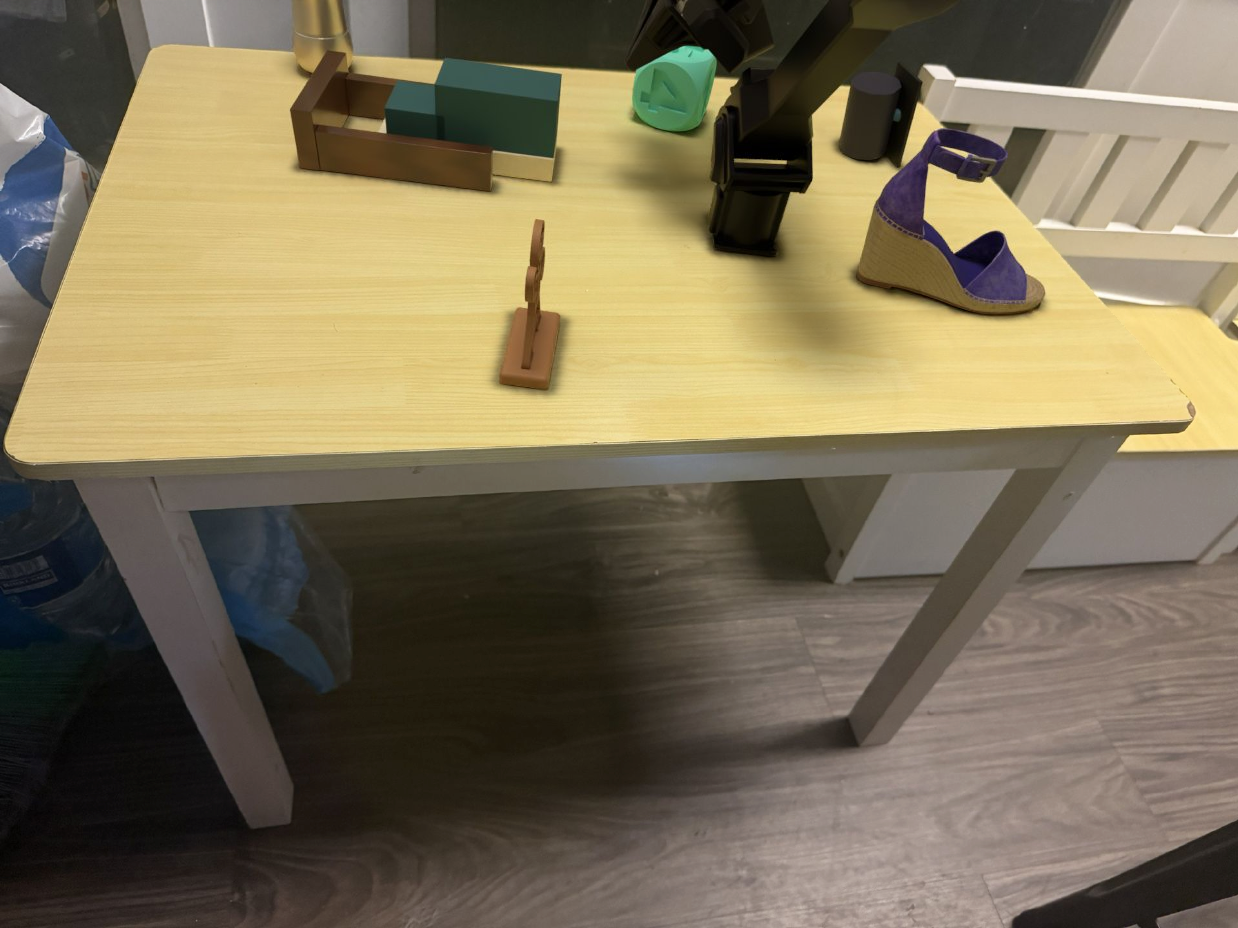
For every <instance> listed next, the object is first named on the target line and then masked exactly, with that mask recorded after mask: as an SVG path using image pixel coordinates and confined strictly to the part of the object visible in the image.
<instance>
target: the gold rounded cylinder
mask: <svg viewBox="0 0 1238 928" xmlns="http://www.w3.org/2000/svg"><path fill="white" fill-rule="evenodd" d="M290 1H291V17H292V27H291V48H292V51H293V54H294V56H295V61H296V62H297V63H298V64H299V66H300V67H301V68H302V69H303V70H305V71H306V72H308V73H311V74H313V72H314V70H315V69H316V67H317V66H318V64H319V62H320V61H321V59H322V58H323V56H324V55H325V53H326V51H327V50H330V51H337V52H344V53H346V55H347V64H348V69H349V68H350V67H351V65H352V63H353V58H354V44H353V40H352V35H351V32H350V28H349V26H348V22H347V16H346V10H345V5H344V0H290Z"/></svg>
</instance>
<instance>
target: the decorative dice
mask: <svg viewBox="0 0 1238 928" xmlns="http://www.w3.org/2000/svg"><path fill="white" fill-rule="evenodd" d="M717 62H718V60H717V59H716V58H715V57H714V56H713V54H712V53H711V52H710V51H709V50H703V49H702V48H701V47H694V46H683V47H680V48H678V49H676V50H674V51H671V52H669V53H667V54H665V55H663V56H662V57H660V58H658V59H656V60H654V61H652V62H650V63H648V64H647V65H645V66H643V67H641V68H639V69H637V70H635V75H634V80H633V86H632V94H631V95H632V96H631V99H632V100H631V103H632V107H633V109H634V111H635V113H636V114H637V116H638V117H639V118H640V120H641V121H643V122H644V123H645V124H647V125H648V126H651V127H653V128H656V129H658V130H662V131H669V132H687V131H691V130H693V129H695V128H697V127H698V126H700V124H701V123H702V121H703V118H704V116H705V113H706V110H707V107H708V105H709V101H710V97H711V94H712V90H713V85H714V81H715V76H716V71H717Z"/></svg>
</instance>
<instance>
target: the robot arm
mask: <svg viewBox="0 0 1238 928" xmlns="http://www.w3.org/2000/svg"><path fill="white" fill-rule="evenodd" d="M961 1H962V0H828V1H827V2H826V4H825V5H824V6H823V8H822V9H821V10H820V11H819V13H818V14H816V16H815V18H814V19H813V20H812V22H811V23H810V24H809V25H808V27H807V28H806V29H805V30H804V32H803V33H802V34H801V36H800V37H799V38H798V39H797V40H796V42H795V43H794V45H792V47H791V48H790V50H789V51H788V52H787V53H786V55H785V56H784V57H783V59H781V61H780V62H779V64H778V65H777V67H775V68H770V67H754V66H753V67H752V66H748V68H745V69H744V70H743V71H742V72H741V74H740V76H739V78H738V80H737V82H736V83H734V85H733V86H730V87H729V92H730V94H729V95H728V97H727V98H726V99H725V102H724V103H723V105H721V106H720V108H719V109H718V112H717V115H716V116H715V120H714V122H713V127H712V128H713V129H712V130H713V133H712V134H713V135H712V145H711V147H712V148H711V157H710V162H711V165H710V166H711V169H710V173H709V180H710V182H711V183H714V184H715V186H714V189H713V193H712V196H711V197H712V198H711V202H710V207H709V211H708V215H707V228H708V232H709V234H710V235H711V240H712V247H713V248H714V249H715V250H719V251H726V252H727V251H728V252H735V253H743V254H751V255H752V254H753V255H759V256H760V255H761V256H768V257H776V256H777V254H778V251H779V250H778V245H777V237H778V235H779V231H780V228H781V225H782V222H783V218H784V216H785V212H786V209H787V206H788V203H789V199H790V196H791V193H794V194H795V193H798V194H800V195H802V194H803V195H805V194H806V193H807V191H808V189H809V187H810V186H811V184H812V182H813V179H814V169H813V168H814V166H813V138H814V126H813V115H814V114H815V113H816V112H817V111H818V110H819V109H820V108H821V107H822V106H823V104H825V103H826V102H827V100H829V98H830V97H832V95H833V94H834V93H835V92H836V91H837V90H838V89H839V88H840V87H841V86H842V85H843V84H844V83H845V82H846V81H847V80H848V79H849V78H850V77H851V76H852V75H853V73H854V72H855V71H856V70H858V68H860V66H861V65H863V63H864V62H866V60H867V59H868V58H869V57H870V56H872V54H873V53H874V52H875V51H876V50H877V49H878V48H879V47H880V46H881V45H882V44H883V43H884V42H885V41H886V40H887V39H888V38H889V37H890V36H891V35H892V33H893V32H894V31H896V30H898V29H899V28H902V27H905V26H909V25H912V24H915V23H917V22H922V21H924V20H927V19H930V18H933V17H937V16H940V15H941V14H943V13H945V12H946V11H947V10H949V9H951V8H952V7H954V6H955V5H957V4H958V3H959V2H961ZM683 46H694V47H701V48H702V49H703V50H709V51H710V52H711V53H712V54H713V56H714V57H715V58H716V60H717V62H718V63H719V64H720V65H721V66H722V67H723V68H724V69H725V71H726V72H727V73H728V74H729V75H732V74H733V73H734V72H735V71H736V70H738V69H739V68H740V67H741V66H742V64H743V63H746V62H748V61H749V60H752V59H753V58H756V57H757V56H760V55H761V54H763V53H766V52H767V51H769V50H771V49H774V48H775V42H774V38H773V34H772V30H771V27H770V22H769V19H768V15H767V10H766V5H765V4H764V2H763V0H645V3H644V6H643V9H642V11H641V14H640V18H639V20H638V23H637V25H636V28H635V31H634V33H633V37H632V39H631V42H630V45H629V48H628V50H627V53H626V55H625V57H624V63H625V65H626V67H627V68H628V69H629V70H630V71H631V72H636V70H637V69H639V68H641V67H643V66H645V65H647V64H648V63H650V62H652V61H654V60H656V59H658V58H660V57H662V56H663V55H665V54H667V53H669V52H671V51H674V50H676V49H678V48H680V47H683ZM735 160H759V161H780V162H781V161H784V162H785V161H786V163H773V162H771V163H770V162H769V163H768V162H746V161H745V162H742V161H741V162H740V161H735Z"/></svg>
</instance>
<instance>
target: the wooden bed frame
mask: <svg viewBox="0 0 1238 928" xmlns="http://www.w3.org/2000/svg"><path fill="white" fill-rule="evenodd" d="M397 81H404V82H412V83H419V84H426V85H434V84H435V83H429V82H422V81H414V80H409V79H408V80H407V79H399V78H394V77H393V78H392V77H386V76H385V77H384V76H378V75H371V74H365V73H355V72H349V68H348V64H347V55H346V53H344V52H337V51H330V50H327V51H326V53H325V55H324V56H323V58H322V59H321V61H320V62H319V64H318V66H317V67H316V69H315V70H314V72H313V73H311V74H310V76H309V79H308V80H307V81H306V83H305V85H304V86H303V88H302V89H301V91H299V94H298V96H297V97H296V98H295V100H294V102H293V103H292V105H291V106H290V108H289V112H290V113H289V114H290V120H291V125H292V131H293V136H294V142H295V148H296V154H297V160H298V165H299V169H306V170H313V171H326V172H333V173H342V174H350V175H358V176H366V177H372V178H373V177H374V178H381V179H382V178H383V179H389V180H398V181H406V182H414V183H421V184H430V185H437V186H445V187H453V188H460V189H469V190H476V191H477V190H478V191H486V192H491V191H492V186H493V175H494V174H493V147H488V146H480V145H472V144H465V143H457V142H449V141H441V140H434V139H426V138H418V137H411V136H403V135H395V134H388V133H380V132H379V131H371V130H363V129H356V128H348V127H344V125H345V124H346V121H347V120H348V117H349V116H356V117H362V118H363V117H364V118H370V119H371V118H372V119H378V120H384V119H385V106H386V104H387V101H388V99H389V97H390V95H391V93H392V91H393V89H394V86H395V84H396V82H397Z"/></svg>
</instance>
